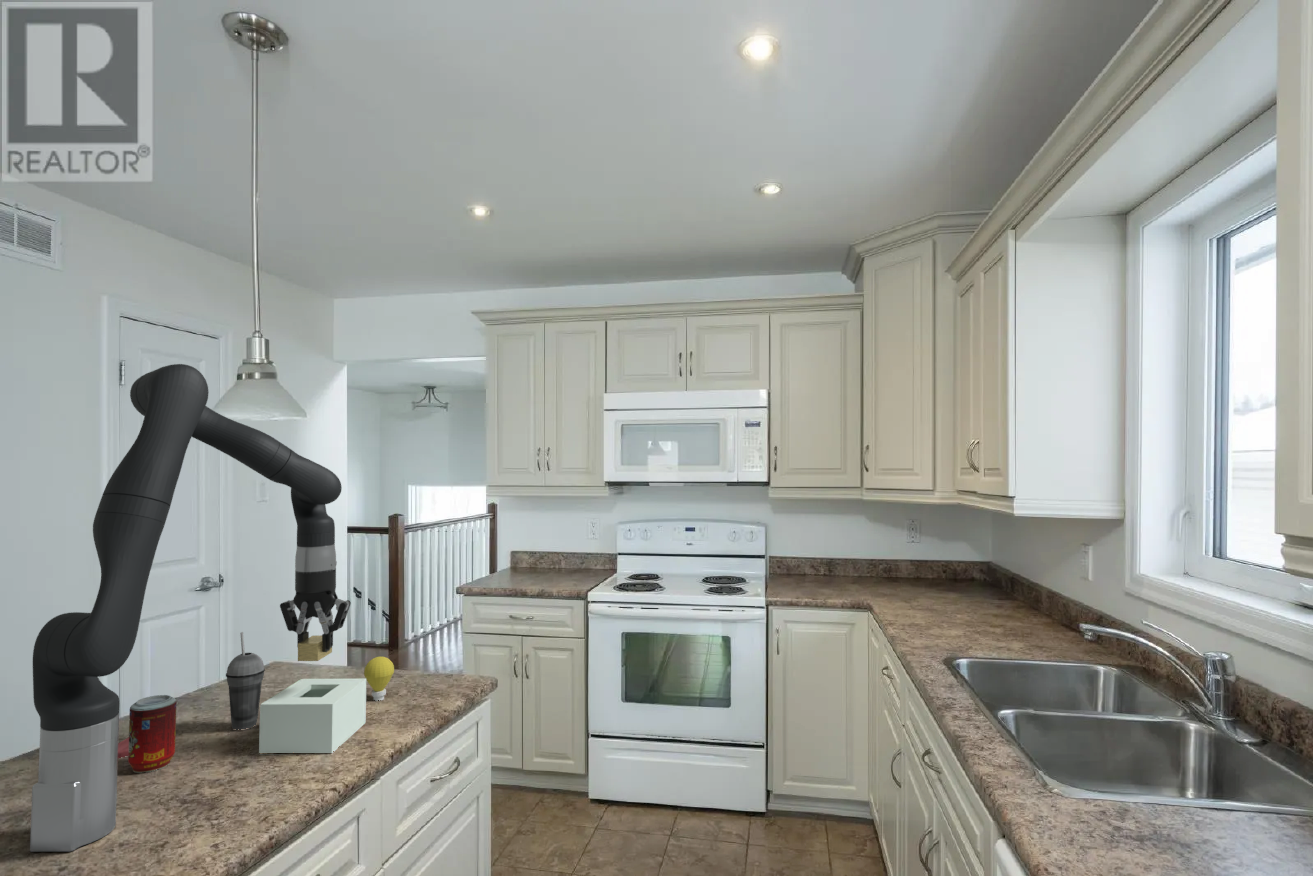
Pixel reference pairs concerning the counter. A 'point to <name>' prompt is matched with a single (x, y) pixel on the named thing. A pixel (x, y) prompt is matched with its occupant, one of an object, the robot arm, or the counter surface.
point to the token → (311, 649)
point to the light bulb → (378, 675)
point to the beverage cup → (244, 688)
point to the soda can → (152, 733)
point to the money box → (312, 716)
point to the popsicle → (123, 748)
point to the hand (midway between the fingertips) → (315, 650)
